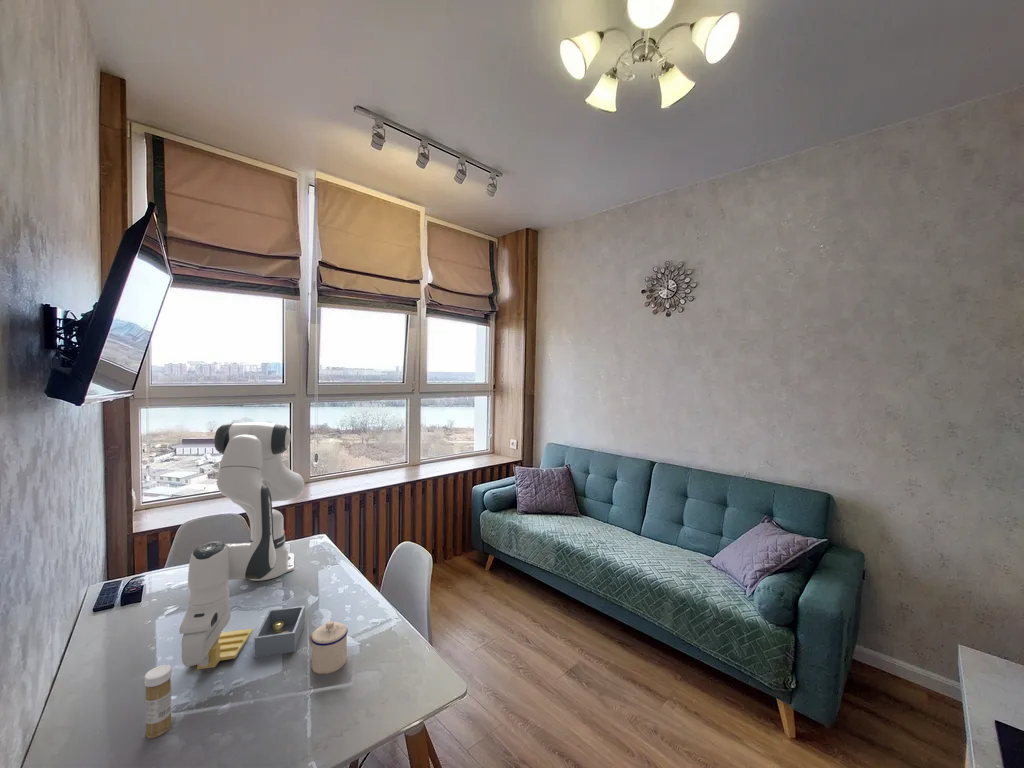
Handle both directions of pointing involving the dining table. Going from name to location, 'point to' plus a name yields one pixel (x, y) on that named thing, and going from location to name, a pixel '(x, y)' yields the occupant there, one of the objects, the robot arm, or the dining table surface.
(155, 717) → the sprinkles bottle
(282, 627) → the ball
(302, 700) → the dining table surface
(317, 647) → the teacup with lid
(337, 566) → the dining table surface
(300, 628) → the tub
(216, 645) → the yellow flat ridged piece
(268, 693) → the dining table surface
